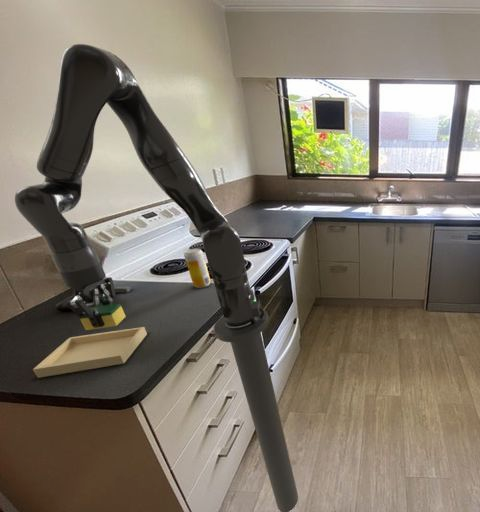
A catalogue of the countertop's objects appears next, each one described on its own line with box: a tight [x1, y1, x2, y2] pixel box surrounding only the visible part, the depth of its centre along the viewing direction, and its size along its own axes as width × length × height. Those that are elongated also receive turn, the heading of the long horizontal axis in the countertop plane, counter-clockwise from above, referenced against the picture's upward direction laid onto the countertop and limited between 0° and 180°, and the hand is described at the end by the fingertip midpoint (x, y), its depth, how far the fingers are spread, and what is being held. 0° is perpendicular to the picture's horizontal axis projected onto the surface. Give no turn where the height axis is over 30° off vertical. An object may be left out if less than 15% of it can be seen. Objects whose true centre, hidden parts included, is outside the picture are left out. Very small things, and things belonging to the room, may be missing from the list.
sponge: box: [79, 302, 127, 331], centre depth 78 cm, size 7×5×4 cm, turn 104°
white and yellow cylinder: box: [183, 247, 212, 289], centre depth 113 cm, size 6×6×15 cm
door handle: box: [54, 286, 131, 312], centre depth 108 cm, size 3×20×16 cm
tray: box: [32, 326, 148, 379], centre depth 79 cm, size 19×13×3 cm
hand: (105, 320), depth 79 cm, fingers closed on sponge, 4 cm apart
